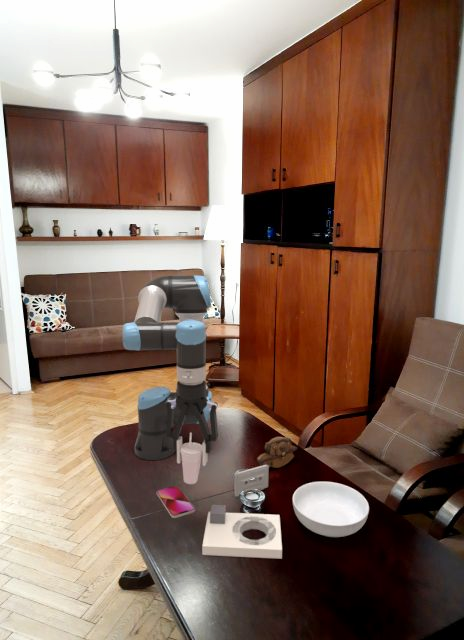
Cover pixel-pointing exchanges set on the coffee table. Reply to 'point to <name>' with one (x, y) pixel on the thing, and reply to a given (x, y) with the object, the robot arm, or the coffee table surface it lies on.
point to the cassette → (257, 483)
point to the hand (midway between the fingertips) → (192, 461)
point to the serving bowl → (330, 508)
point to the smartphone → (175, 501)
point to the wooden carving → (277, 452)
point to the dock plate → (228, 538)
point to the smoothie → (191, 460)
